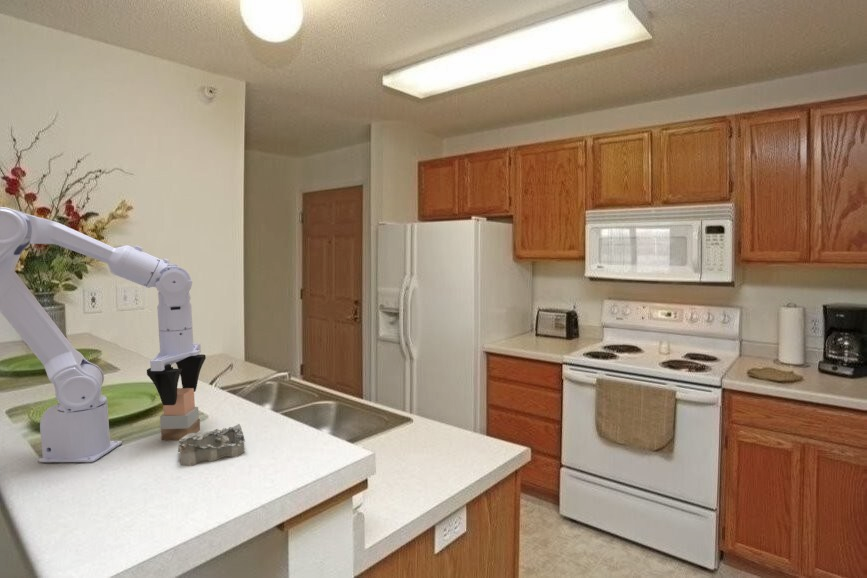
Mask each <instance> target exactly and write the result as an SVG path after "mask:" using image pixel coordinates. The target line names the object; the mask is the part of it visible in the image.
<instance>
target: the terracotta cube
mask: <svg viewBox="0 0 867 578" xmlns="http://www.w3.org/2000/svg"><path fill="white" fill-rule="evenodd" d="M195 405H196V403H195V392H194V388H182V387H179V388H178V387H177V400H176V404H175V405H163V404H162V408H163V414H164V415H185V414H187V413H188V412H190V411H191V410H192V409H194V408H195V407H196V406H195Z"/></svg>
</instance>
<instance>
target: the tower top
mask: <svg viewBox="0 0 867 578" xmlns="http://www.w3.org/2000/svg"><path fill="white" fill-rule="evenodd" d="M199 415H200V414H199V406H195V408H194V409H192V410H191V411H190V412H188V413H187V414H185V415H164V413H162V414H161V415H160V416H159V421H160V430H161V429H183V428H189V427H190V426H191V425H192V424H194V423H195V422H196V421H197V420H198V419H200V418H199V417H200V416H199Z"/></svg>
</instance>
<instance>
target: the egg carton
mask: <svg viewBox="0 0 867 578" xmlns="http://www.w3.org/2000/svg"><path fill="white" fill-rule="evenodd" d="M245 443H246V439H245V435H244V432H243V429H242V427H241V424H240V423H237V424H236V425H234V426H229V427H228V428H226V427H225V428H222V429H219V428H216V429H213V430H210V431H204V432H201V433H200V432H197V433H189V434H187V435H185V436H184V437H182V438H181V439H180V440H178V450H177V453H179V456H180V465H182V466H184V465H185V466H186V465H187V466H190V467H192V466H195V465H197V464H198V463H200V462H202V461H210V462H215V461H218V460H219V459H220V458H223V457H231V458H233V457H234V458H235V457H238V456H239V455H240V454H243V453H245Z"/></svg>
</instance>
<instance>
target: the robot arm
mask: <svg viewBox="0 0 867 578" xmlns="http://www.w3.org/2000/svg"><path fill="white" fill-rule="evenodd" d="M30 244H31V245H33V244H34V245H35V244H36V245H57V246H59V247H62V248H64V249H68V250H71V251H73V252H76V253H78V254H81V255H83V256H86V257H89V258H91V259H94V260H97V261H100V262H102V263H105V264H107V266H108V268H109V271H110V273H111V274H112V275H115V276H118V277H120V278H122V279H125V280H128V281H130V282H133V283H135V284H137V285H141V286H143V287H146V288H147V289H150V288H156V290H157V297H158V305H157V307H156V308H157V310H156V311H157V323H158V325H157V326H158V339H159V340H158V341H159V353H157V355H156V356H155V357H154V358H152V359H151V360H150V361H149V362H150V363H149V364H150V367H149V368H147V369H146V375H147V377H148V378H149V379H150V380H151V381H152V382H153V383H152V384H153V385H154V387H155V389H156V390H157V393H158V395H159V398H160V401H161V404H162V406H163V405H175V404H176V400H177V388H178V385H179V380H180V381H181V382H180V383H181V388H194V393H195V392H196V391H197V388H198V381H199V375H200V372H201V370H202V367H203V365H204V362H205V360H206V358H207V357H206V356H207V355H206V354H200V353H201V351H202V349H201V348H202V347H201V343H199V342H196V343H194V333H193V332H194V331H193V314H192V313H193V312H192V311H193V310H192V303H191V301H190V300H191V294H190V290H191V289H192V286H193V281H192V279H191V276H190V274H189V273H188V272H187V270H185V269H184V268H182V267H180V266H179V265H177V264H174V263H173V264H172V263H171V264H169V263H170V260H169V259H167V258H165V257H164V258H163V259H162V258H161V259H160V258H158V257H157V256H154V255H152V254H149V253H147V252H145V251H143V249H144V248H143V247H141V246H139V245H134V247H133V246H131V245H129V244H125V245H123V246H118V247H114V246H112V245H109V244H107V243H104V242H102V241H100V240H99V239H95V238H94V237H91V236H89V235H87V234H85V233H83V232H80V231H78V230H75V229H73V228H71V227H69V226H67V225H64V224H63V223H60V222H58V221H54V220H50V219H47V218H44V217H39V216H35V215H32V214H28V213H25V212H23V211H20V210H16V209H13V208H9V207H5V206H0V313H1V314H2V315H3V317H4V318H5V319H6V320H7V322H8V323H9V324H10V325H11V327H12V328H13V329H14V331H15V332H16V333H17V334H18V336H19V337H20V338H21V339H22V340H23V342H24V343H25V344H26V345H27V347H28V348H29V349H30V350H31V352H32V353H33V354H34V355H35V356H36V358H37V359H38V361H40V363H41V364H42V365H43V366H44V370H45V373H46V375H47V378H48V380H49V381H50V383H51V384H52V385H53V388H54V392H55V399H56V400H57V402H58V403H57V404H54V405H51V406H50V407H48V408H47V409H45V411H44V412H43V413H42V416H41V419H40V422H39V430H40V431H39V433H40V434H39V435H40V442H41V443H40V444H41V453H42V456H41V457H40V458H39V459H38V462H39V463H93V462H96V461H97V460H98V459H101V458H102V457H103V456H104V455H106V454H108V453H109V452H111V451H112V450H113V449H116V448H117V447H119V446H120V445H121V444H122V443H123V441H122V440H111V436H110V422H109V412H108V411H109V410H108V398H107V396H105V395H104V394H103V393H102V386H103V384H104V379H105V375H104V372H103V370H102V369H101V367H100V366H98V365H97V364H95V363H92V362H90V361H88V360H87V358H86V357H85V356H84V355H83V354H82V353H81V352H80V351H79V350H77V349H76V348H75V347H74V346H73V345H72V344H71V342H70V341H69V340H68V339H67V337H66V336H65V335H64V334H63V331H61V330H60V328H59V327H58V326H57V324H56V323H55V321H54V320H53V319H52V318H51V317H50V315H49V314H48V313H47V311H46V310H45V308H44V307H43V306H42V305H41V304H40V302H39V301H38V300H37V298H36V297H35V295H34V294H33V293H32V292H31V290H30V289H29V288H28V286H27V285H26V284H25V283H24V282H23V280H22V279H21V277H20V276H19V275H18V273H17V272H16V268H17V265H18V263H19V260H20V257H21V256H22V253H23V252H24V251H25V249H26V248H27V247H28V246H30ZM174 364H175V365H176V366H177V368H174V367H173V366H172V365H174Z"/></svg>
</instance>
